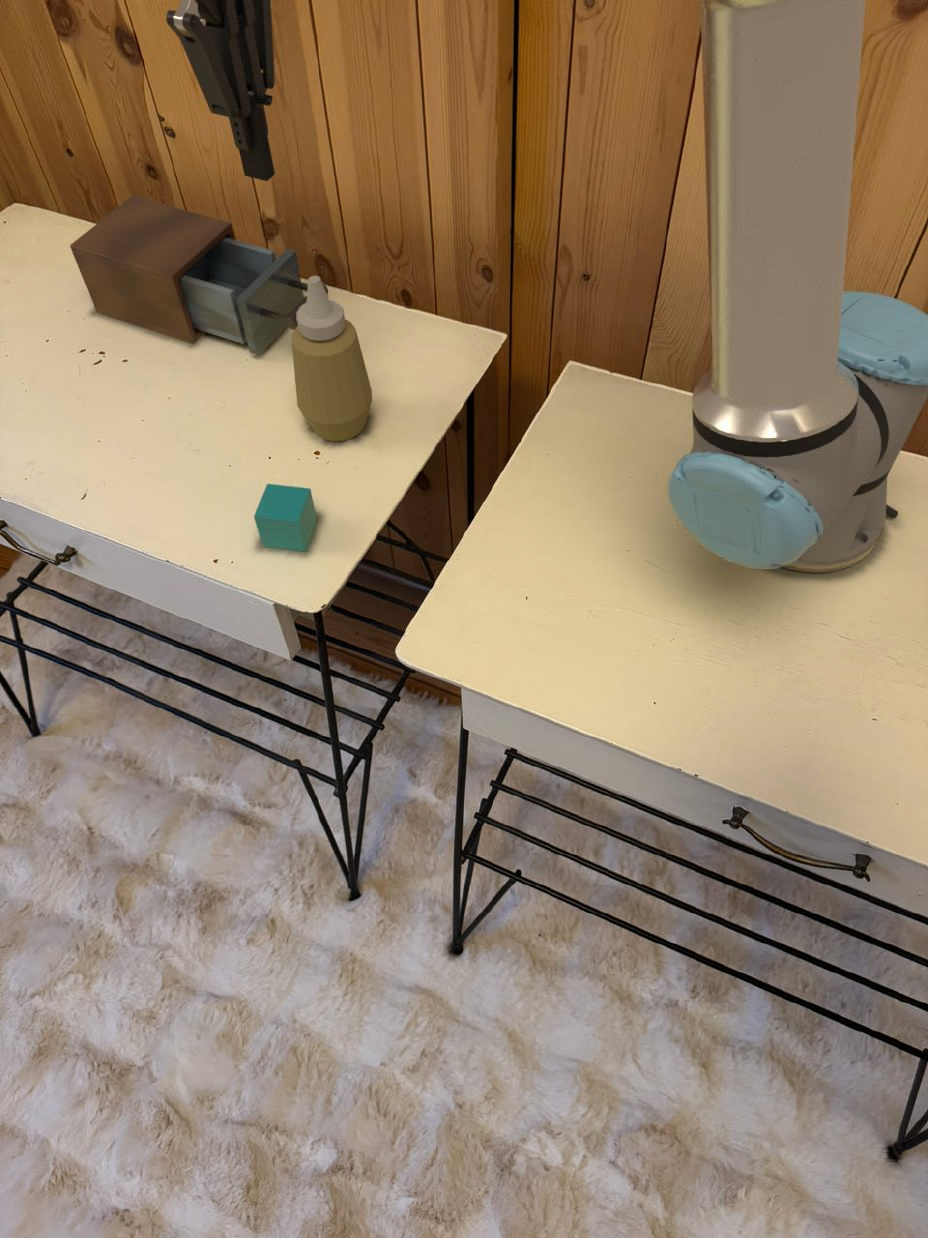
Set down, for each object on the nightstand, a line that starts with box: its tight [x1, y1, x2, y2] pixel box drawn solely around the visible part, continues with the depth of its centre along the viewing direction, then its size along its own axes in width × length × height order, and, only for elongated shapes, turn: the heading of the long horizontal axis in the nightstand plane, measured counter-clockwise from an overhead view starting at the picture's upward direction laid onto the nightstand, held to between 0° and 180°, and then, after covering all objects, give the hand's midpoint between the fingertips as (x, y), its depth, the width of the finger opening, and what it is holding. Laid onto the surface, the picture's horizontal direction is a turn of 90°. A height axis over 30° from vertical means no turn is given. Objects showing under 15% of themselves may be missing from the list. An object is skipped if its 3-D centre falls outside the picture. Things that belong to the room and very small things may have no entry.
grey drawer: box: [178, 237, 329, 356], centre depth 107 cm, size 18×10×7 cm, turn 64°
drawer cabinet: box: [69, 195, 236, 345], centre depth 110 cm, size 15×12×9 cm
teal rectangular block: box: [253, 483, 318, 552], centre depth 90 cm, size 4×4×4 cm
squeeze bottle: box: [291, 275, 373, 442], centre depth 93 cm, size 8×8×18 cm
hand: (259, 174), depth 93 cm, fingers closed
